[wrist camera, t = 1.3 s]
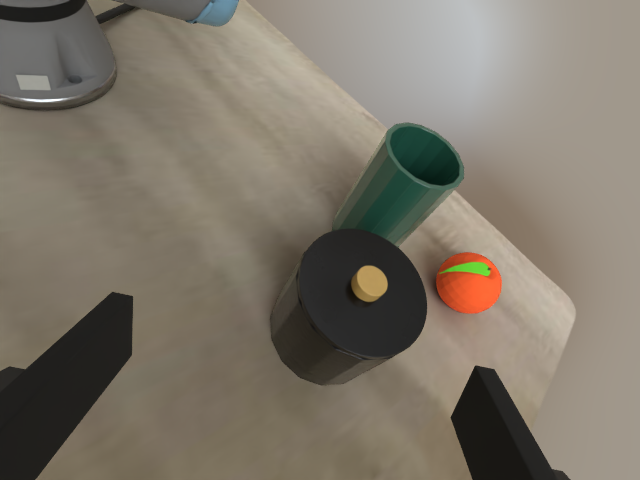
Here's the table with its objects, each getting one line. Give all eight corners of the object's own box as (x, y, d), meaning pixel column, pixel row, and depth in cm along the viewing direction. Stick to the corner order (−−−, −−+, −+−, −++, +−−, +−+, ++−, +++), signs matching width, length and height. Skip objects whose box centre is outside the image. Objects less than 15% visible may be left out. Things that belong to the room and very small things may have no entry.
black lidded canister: (268, 276, 38) (297, 214, 29) (363, 279, 42) (415, 225, 33) (274, 389, 32) (312, 356, 23) (383, 381, 36) (453, 350, 27)
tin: (327, 203, 46) (377, 116, 35) (385, 209, 48) (448, 130, 37) (337, 261, 42) (397, 183, 30) (399, 264, 44) (475, 194, 33)
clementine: (422, 318, 41) (461, 293, 36) (412, 264, 45) (446, 234, 39) (480, 324, 44) (526, 302, 38) (466, 272, 47) (506, 245, 42)
